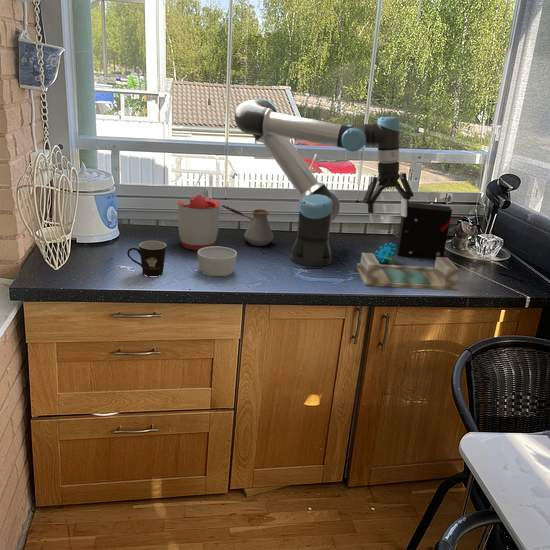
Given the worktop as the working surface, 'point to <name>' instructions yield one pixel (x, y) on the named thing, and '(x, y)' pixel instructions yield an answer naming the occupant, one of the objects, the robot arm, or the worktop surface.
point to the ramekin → (217, 260)
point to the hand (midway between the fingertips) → (388, 219)
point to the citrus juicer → (198, 222)
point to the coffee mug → (151, 257)
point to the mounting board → (408, 274)
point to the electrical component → (424, 231)
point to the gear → (386, 253)
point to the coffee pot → (257, 227)
